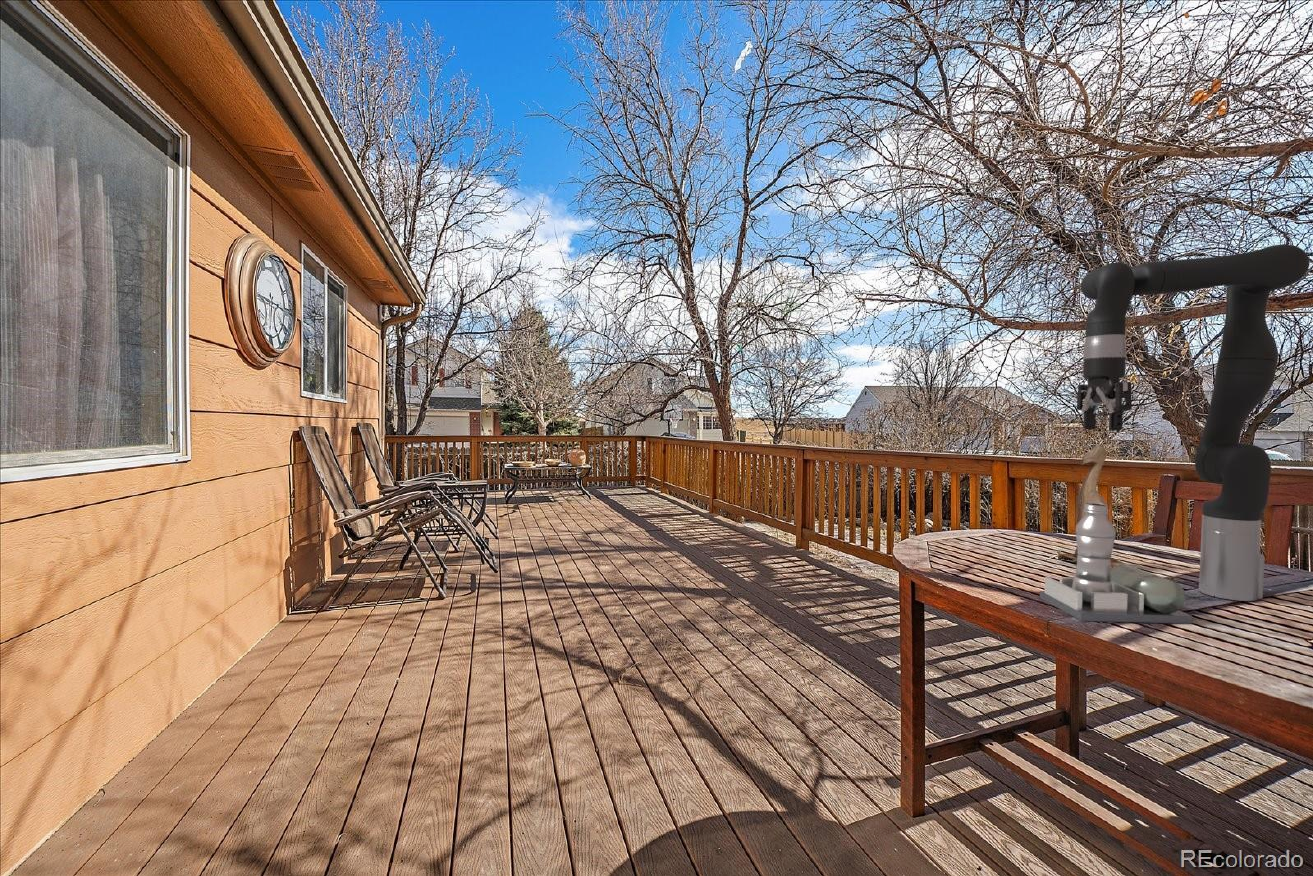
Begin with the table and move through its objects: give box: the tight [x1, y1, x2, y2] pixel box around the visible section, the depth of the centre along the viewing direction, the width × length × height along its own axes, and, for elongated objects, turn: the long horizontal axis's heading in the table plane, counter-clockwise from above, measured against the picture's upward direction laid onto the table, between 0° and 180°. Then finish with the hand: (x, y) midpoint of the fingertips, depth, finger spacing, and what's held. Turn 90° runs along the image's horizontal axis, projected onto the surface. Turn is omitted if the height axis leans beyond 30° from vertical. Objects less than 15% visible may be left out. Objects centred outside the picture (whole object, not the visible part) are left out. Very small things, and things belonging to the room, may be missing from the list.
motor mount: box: [1039, 563, 1193, 625], centre depth 120 cm, size 20×14×8 cm
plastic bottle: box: [1072, 503, 1117, 603], centre depth 120 cm, size 6×7×20 cm
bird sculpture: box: [1057, 444, 1127, 570], centre depth 152 cm, size 11×12×32 cm
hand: (1101, 430), depth 132 cm, fingers open, 8 cm apart
